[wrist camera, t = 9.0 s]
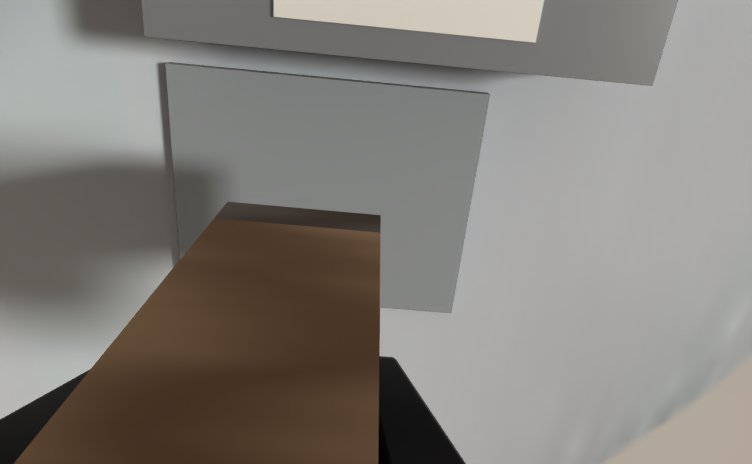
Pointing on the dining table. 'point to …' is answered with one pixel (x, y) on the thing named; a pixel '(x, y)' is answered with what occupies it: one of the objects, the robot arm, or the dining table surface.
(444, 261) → the slate mat
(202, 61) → the dining table surface
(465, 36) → the box
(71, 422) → the long wooden beam
